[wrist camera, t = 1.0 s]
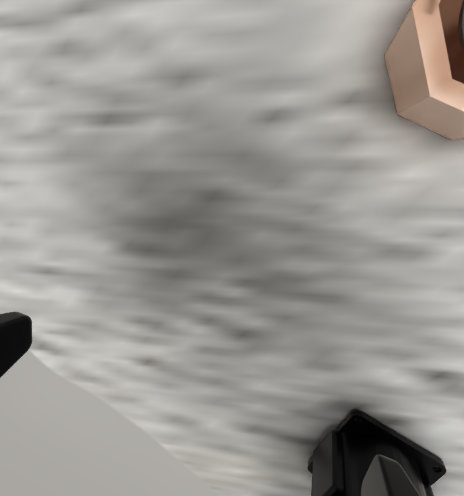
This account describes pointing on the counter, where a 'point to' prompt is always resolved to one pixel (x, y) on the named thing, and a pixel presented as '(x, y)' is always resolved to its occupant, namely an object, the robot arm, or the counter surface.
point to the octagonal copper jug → (429, 67)
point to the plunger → (461, 26)
